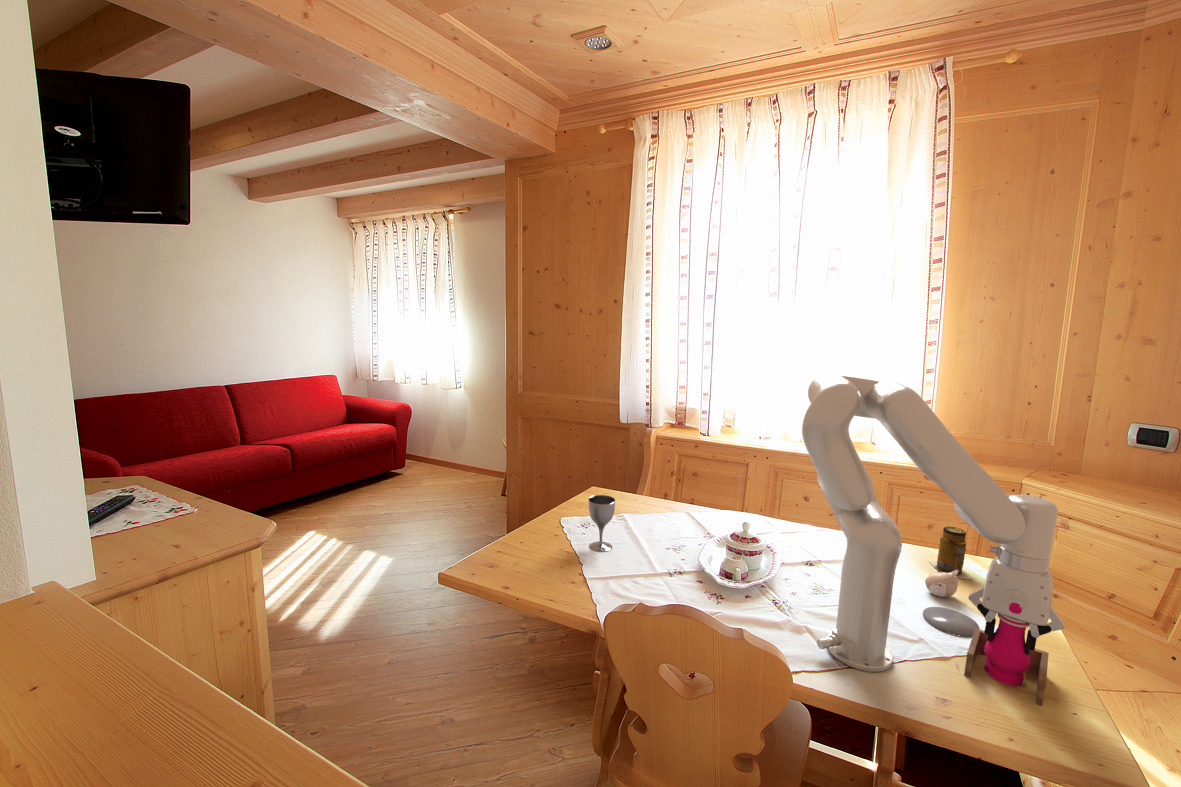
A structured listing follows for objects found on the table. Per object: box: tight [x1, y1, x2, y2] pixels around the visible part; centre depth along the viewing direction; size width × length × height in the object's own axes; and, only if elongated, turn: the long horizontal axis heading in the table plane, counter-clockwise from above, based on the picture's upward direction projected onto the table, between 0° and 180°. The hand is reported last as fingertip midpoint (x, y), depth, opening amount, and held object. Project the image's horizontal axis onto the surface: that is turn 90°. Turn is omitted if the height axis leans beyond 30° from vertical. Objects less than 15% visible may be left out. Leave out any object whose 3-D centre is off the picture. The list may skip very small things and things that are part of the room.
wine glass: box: [588, 494, 616, 553], centre depth 158 cm, size 8×8×15 cm
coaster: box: [922, 606, 980, 637], centre depth 124 cm, size 11×11×1 cm
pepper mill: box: [983, 602, 1030, 687], centre depth 104 cm, size 7×7×20 cm
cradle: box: [963, 628, 1050, 707], centre depth 105 cm, size 12×12×5 cm
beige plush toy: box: [924, 570, 959, 598], centre depth 135 cm, size 7×6×8 cm
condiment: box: [929, 525, 972, 580], centre depth 148 cm, size 7×8×12 cm
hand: (1008, 643), depth 105 cm, fingers closed on pepper mill, 5 cm apart
